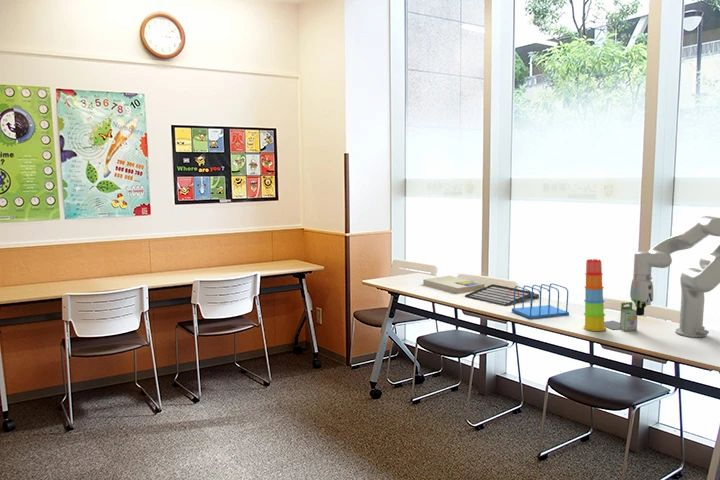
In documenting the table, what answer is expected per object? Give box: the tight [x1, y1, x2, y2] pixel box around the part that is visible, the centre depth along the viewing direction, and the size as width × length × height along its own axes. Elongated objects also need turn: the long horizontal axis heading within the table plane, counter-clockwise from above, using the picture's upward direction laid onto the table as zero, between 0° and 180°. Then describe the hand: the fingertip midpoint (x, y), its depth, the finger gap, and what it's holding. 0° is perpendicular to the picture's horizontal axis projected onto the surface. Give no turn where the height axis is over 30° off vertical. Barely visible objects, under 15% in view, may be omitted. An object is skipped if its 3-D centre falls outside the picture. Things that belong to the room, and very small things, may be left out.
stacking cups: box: [582, 258, 607, 332], centre depth 282 cm, size 10×10×35 cm
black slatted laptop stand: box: [464, 284, 540, 307], centre depth 355 cm, size 32×7×31 cm
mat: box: [604, 320, 621, 331], centre depth 290 cm, size 13×12×1 cm
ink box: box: [619, 301, 638, 332], centre depth 281 cm, size 7×4×13 cm, turn 105°
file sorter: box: [511, 283, 570, 320], centre depth 315 cm, size 25×17×15 cm
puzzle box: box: [422, 275, 486, 295], centre depth 388 cm, size 36×5×24 cm
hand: (640, 315), depth 274 cm, fingers closed
